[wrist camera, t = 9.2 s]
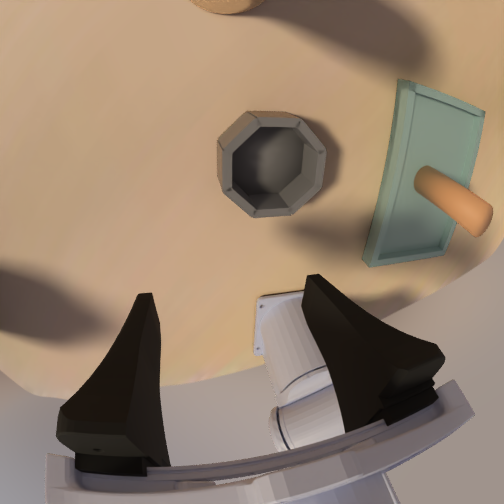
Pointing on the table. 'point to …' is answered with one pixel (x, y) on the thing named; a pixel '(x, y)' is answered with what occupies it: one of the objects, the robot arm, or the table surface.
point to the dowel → (454, 200)
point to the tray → (407, 165)
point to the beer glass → (227, 5)
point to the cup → (270, 163)
